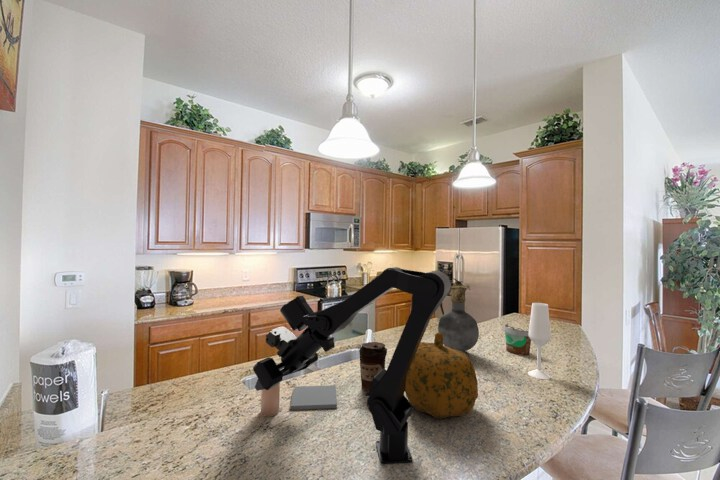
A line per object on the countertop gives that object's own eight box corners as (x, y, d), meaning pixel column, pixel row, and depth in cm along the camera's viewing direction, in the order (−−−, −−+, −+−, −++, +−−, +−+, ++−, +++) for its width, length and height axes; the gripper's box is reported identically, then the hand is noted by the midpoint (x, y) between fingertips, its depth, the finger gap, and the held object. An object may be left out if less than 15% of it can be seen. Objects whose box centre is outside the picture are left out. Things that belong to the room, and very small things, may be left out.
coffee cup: (384, 396, 89) (385, 350, 89) (355, 393, 91) (356, 348, 91) (387, 383, 97) (388, 341, 98) (361, 380, 99) (362, 339, 99)
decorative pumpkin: (398, 423, 74) (403, 337, 76) (399, 390, 95) (403, 323, 97) (487, 436, 71) (491, 346, 73) (468, 399, 92) (471, 329, 94)
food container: (496, 348, 133) (496, 324, 133) (506, 346, 136) (506, 323, 136) (522, 358, 122) (522, 332, 122) (532, 356, 125) (533, 331, 125)
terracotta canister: (278, 416, 78) (279, 375, 78) (258, 417, 77) (259, 376, 77) (280, 406, 83) (281, 368, 83) (262, 407, 82) (263, 368, 82)
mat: (336, 408, 82) (336, 404, 82) (290, 409, 81) (290, 405, 81) (335, 388, 93) (335, 385, 93) (294, 389, 92) (294, 386, 92)
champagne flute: (530, 377, 104) (531, 305, 105) (525, 369, 111) (526, 301, 111) (553, 380, 102) (554, 306, 103) (547, 372, 109) (548, 303, 109)
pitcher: (461, 362, 116) (462, 281, 116) (428, 346, 133) (430, 276, 134) (482, 358, 121) (484, 280, 121) (448, 343, 138) (449, 275, 138)
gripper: (310, 311, 86) (277, 344, 91) (260, 327, 70) (224, 366, 74) (334, 345, 83) (299, 378, 88) (287, 370, 66) (247, 409, 71)
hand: (269, 381), depth 80 cm, fingers open, 9 cm apart
